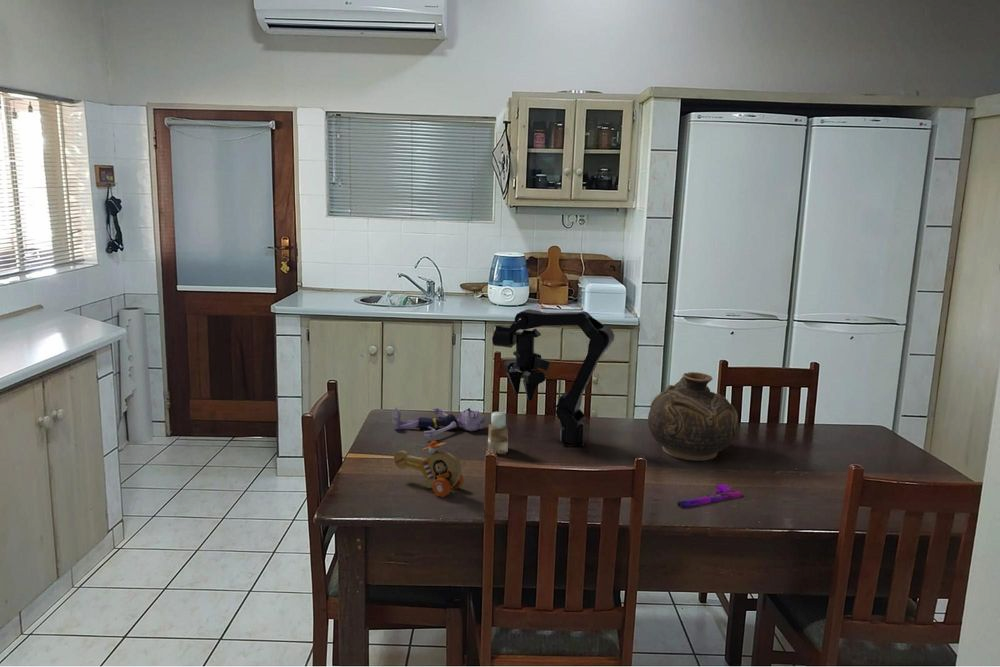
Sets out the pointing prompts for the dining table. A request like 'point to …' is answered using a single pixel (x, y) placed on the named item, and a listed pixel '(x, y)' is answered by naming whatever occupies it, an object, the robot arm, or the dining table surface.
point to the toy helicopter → (434, 468)
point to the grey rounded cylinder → (498, 420)
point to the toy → (440, 421)
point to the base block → (498, 446)
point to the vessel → (692, 419)
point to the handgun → (711, 497)
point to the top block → (498, 434)
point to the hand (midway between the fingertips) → (523, 396)
